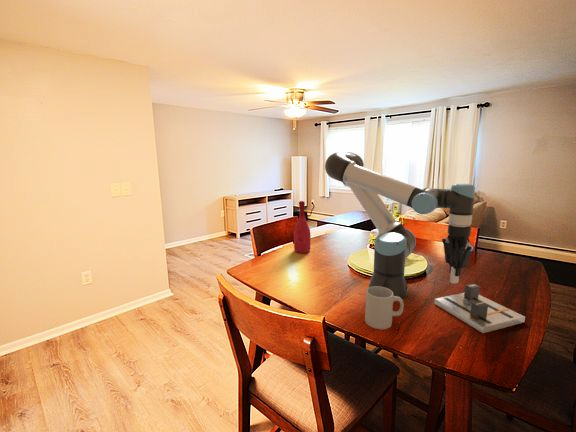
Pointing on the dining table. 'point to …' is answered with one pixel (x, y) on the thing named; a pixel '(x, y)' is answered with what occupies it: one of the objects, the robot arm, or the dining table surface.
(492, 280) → the dining table surface
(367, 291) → the mug
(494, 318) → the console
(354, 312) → the dining table surface
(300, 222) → the wine bottle
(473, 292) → the fader tab
